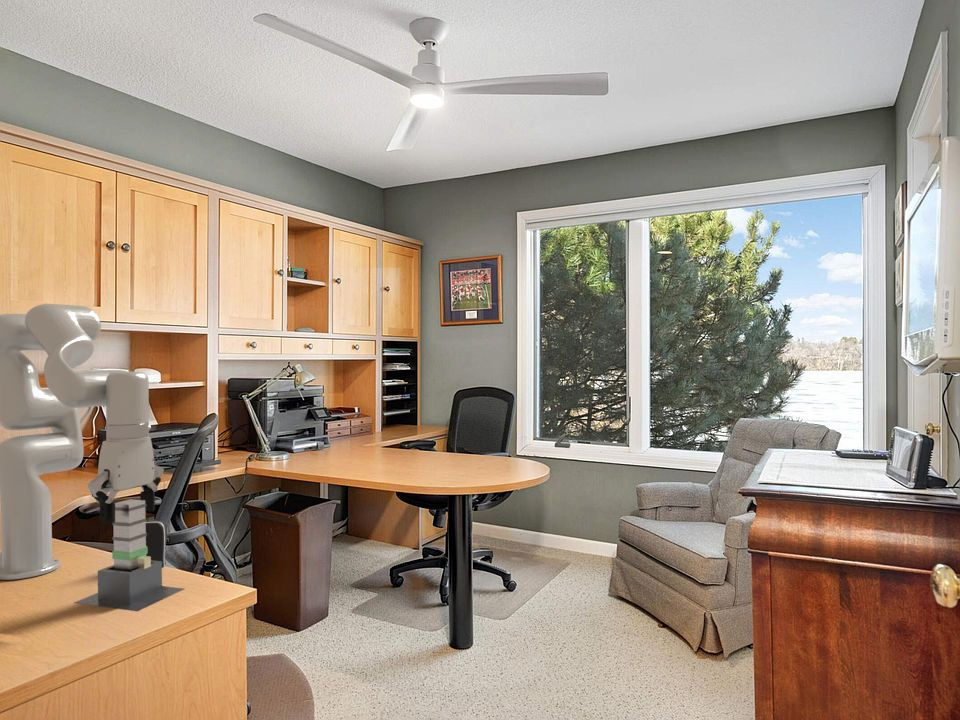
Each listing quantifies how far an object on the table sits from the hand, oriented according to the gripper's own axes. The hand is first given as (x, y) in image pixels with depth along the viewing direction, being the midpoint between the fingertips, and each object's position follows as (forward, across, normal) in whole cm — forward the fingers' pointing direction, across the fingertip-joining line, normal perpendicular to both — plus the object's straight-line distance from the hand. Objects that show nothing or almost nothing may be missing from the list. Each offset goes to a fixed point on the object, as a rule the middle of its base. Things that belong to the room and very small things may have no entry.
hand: (128, 516), depth 127 cm
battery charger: (+17, -16, -10) cm, 26 cm away
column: (+10, 0, +1) cm, 10 cm away
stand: (+17, 0, +1) cm, 17 cm away
